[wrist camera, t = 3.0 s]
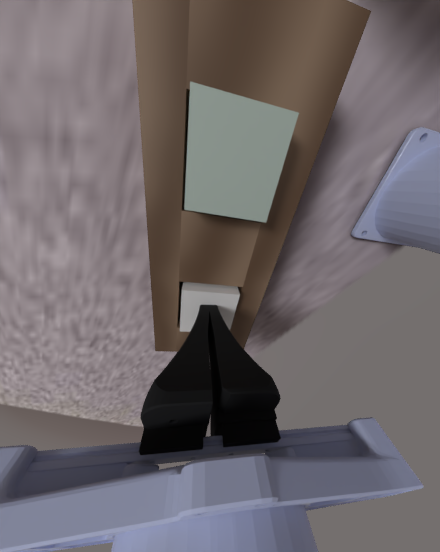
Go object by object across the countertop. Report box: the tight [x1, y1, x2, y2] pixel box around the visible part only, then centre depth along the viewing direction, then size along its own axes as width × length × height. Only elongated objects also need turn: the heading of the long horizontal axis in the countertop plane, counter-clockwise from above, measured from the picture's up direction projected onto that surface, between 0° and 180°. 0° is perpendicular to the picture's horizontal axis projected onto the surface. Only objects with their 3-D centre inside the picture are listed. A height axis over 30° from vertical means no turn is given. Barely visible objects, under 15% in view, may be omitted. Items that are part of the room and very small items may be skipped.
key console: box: [132, 0, 371, 351], centre depth 13 cm, size 9×22×4 cm, turn 171°
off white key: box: [180, 282, 240, 332], centre depth 14 cm, size 4×4×3 cm
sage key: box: [184, 81, 299, 223], centre depth 8 cm, size 4×4×3 cm
